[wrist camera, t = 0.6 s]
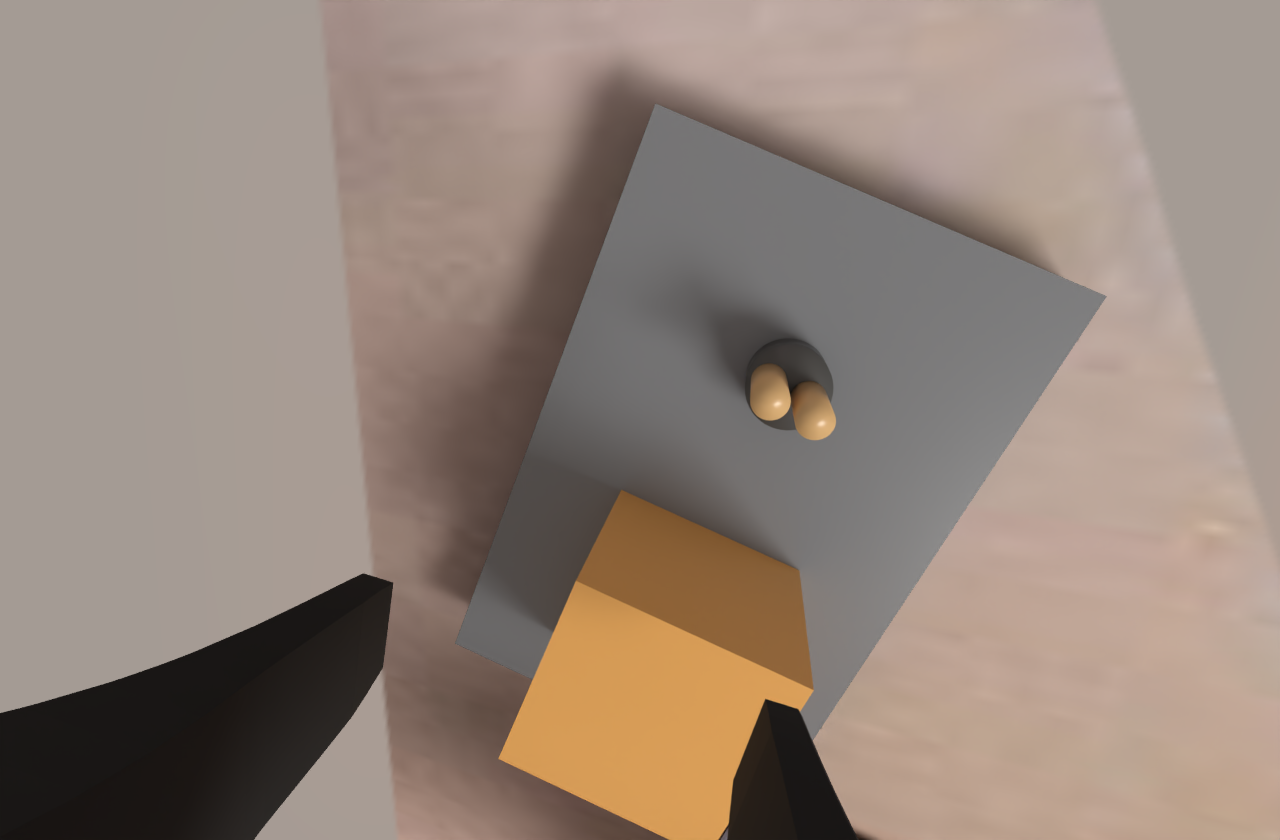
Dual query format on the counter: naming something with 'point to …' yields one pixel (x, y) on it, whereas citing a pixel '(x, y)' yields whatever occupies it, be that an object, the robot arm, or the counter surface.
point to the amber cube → (662, 671)
